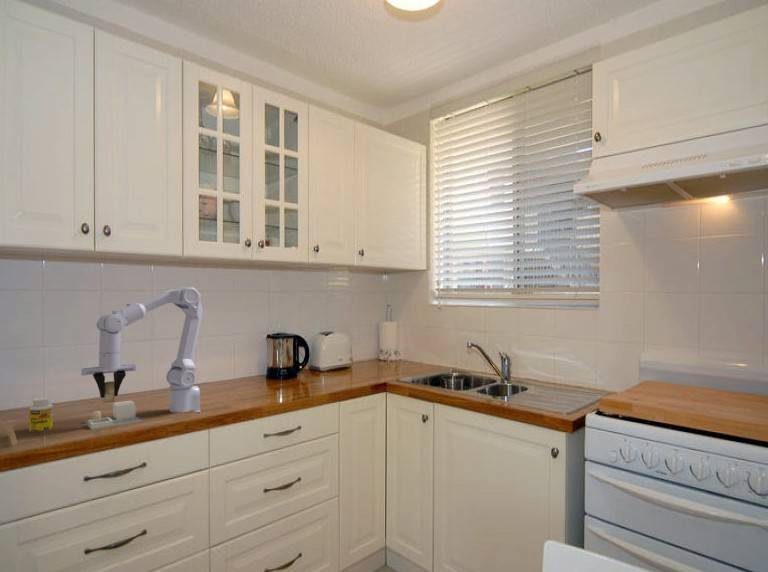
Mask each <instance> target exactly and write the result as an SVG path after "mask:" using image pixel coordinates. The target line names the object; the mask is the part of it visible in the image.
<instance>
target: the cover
mask: <svg viewBox="0 0 768 572" xmlns="http://www.w3.org/2000/svg"><path fill="white" fill-rule="evenodd" d="M112 416H113V417H114V418H115V419H117V420H118V419H124V418H130V417H135V416H136V402H134V401H133V400H126V401H119V402H118V401H117V402H112Z"/></svg>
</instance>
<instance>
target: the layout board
mask: <svg viewBox="0 0 768 572" xmlns="http://www.w3.org/2000/svg"><path fill="white" fill-rule="evenodd" d="M139 422H140V423H141V422H143V420H142V419H140V418H139V417H138V416H136V415H135V417H130V418H124V419H118V420H117V419H115V418H114V417H113V415H112V416H107V417H102V411H101V410H94V411H92V412H91V419H87V420H83V423H84V424H85V425H86V427H88V428H89V429H90V431H93V430H99V429H106V428H110V427H118V426H122V425H128V424H129V425H130V424H136V423H139Z"/></svg>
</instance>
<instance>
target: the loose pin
mask: <svg viewBox="0 0 768 572" xmlns="http://www.w3.org/2000/svg"><path fill="white" fill-rule="evenodd" d="M115 397H116V396H115V382H114V381H105V382H104V398H102V400H103V401H102V402H103V403H104V404H108V403H109V404H110V403H115V400H116V398H115Z"/></svg>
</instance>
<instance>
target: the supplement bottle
mask: <svg viewBox="0 0 768 572" xmlns="http://www.w3.org/2000/svg"><path fill="white" fill-rule="evenodd" d="M50 399H51V398H50V397H38V398H33V401H32V405H31V406H30V407H29V413H28V414H29V420H28V422H29V423H28V425H29V427H28V431H29V432H30V433H37V432H45V431H49V430H52V429H53V414H54V413H53V412H54V411H53V409H54V405H53V404H52V403H50V402H51V401H50Z"/></svg>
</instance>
